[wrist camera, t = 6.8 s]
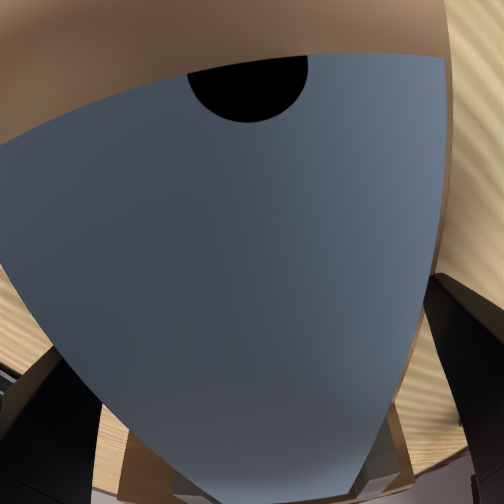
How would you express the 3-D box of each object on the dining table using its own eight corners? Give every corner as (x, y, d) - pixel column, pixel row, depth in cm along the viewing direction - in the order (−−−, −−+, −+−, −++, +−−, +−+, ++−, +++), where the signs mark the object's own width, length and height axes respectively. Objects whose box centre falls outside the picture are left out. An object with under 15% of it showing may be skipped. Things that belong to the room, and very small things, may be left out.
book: (325, 367, 12) (347, 493, 8) (228, 378, 12) (224, 505, 8) (305, 58, 6) (444, 58, 2) (135, 90, 6) (-41, 171, 2)
